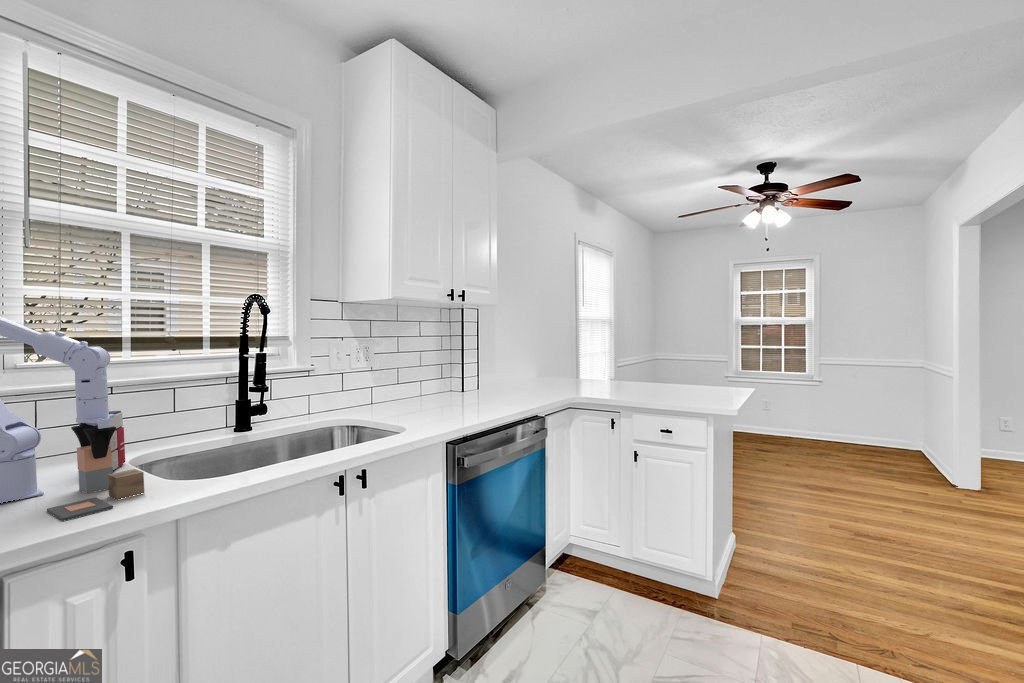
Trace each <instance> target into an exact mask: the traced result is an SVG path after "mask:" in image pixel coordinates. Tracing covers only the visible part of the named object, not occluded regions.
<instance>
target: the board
mask: <svg viewBox="0 0 1024 683" xmlns="http://www.w3.org/2000/svg"><path fill="white" fill-rule="evenodd" d="M112 508H113V509H114V505H113V504H111V503H109V502H106V501H104V500H103V499H100V498H98V497H97V496H95V497H91V498H87V499H82V500H78V501H74V502H70V503H65V504H61V505H57V506H52V507H48V508H46V512H47V513H48V512H49V513H48V514H50V515H51V514H52V515H51V516H53V515H54V516H53V517H55V518H56V517H57V520H59V521H61V520H62V521H61V522H65V521H64V520H66V521H69V520H68V519H70V520H73V519H72V518H74V519H77V518H76V517H78V518H80V517H79V516H81V517H84V516H83V515H85V516H88V515H87V514H89V515H92V514H91V513H93V514H96V513H95V512H97V513H100V512H99V511H101V512H103V510H105V511H108V510H107V509H109V510H112Z"/></svg>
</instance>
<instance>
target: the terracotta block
mask: <svg viewBox="0 0 1024 683" xmlns="http://www.w3.org/2000/svg"><path fill="white" fill-rule="evenodd" d="M76 457H77V458H76V459H77V460H76V461H77V462H76V463H77V470H78V469H79V470H81V471H83V472H89V471H94V470H99V469H104V468H109V467H112V455H111V446H110V445H109V448H108V452H107V456H106V457H104V458H99V459H94V457H93V454H92V450H91V446H85V447H81V446H79V447H76Z"/></svg>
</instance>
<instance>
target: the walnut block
mask: <svg viewBox="0 0 1024 683" xmlns="http://www.w3.org/2000/svg"><path fill="white" fill-rule="evenodd" d="M144 475H145V474H144V471H142V470H138V469H136V468H133V469H128V470H124V471H123V470H122V471H119V472H113V474H108V486H109V489H108V496H110V498H111V497H112V498H111V499H114V498H115V499H114V500H116V499H117V500H116V501H119V500H118V499H121V498H125V497H129V496H133V495H137V494H141V493H144V494H145V478H144ZM141 495H142V494H141ZM137 496H138V495H137ZM133 497H134V496H133ZM129 498H130V497H129ZM125 499H126V498H125ZM121 500H122V499H121Z"/></svg>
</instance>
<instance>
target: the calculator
mask: <svg viewBox="0 0 1024 683" xmlns="http://www.w3.org/2000/svg"><path fill="white" fill-rule="evenodd" d="M108 412H109V414H114V415H115V417H114V418H110V427H112V426H115V427H116V430H115V432H114V433H113V435H112V437H111V440H110V443H109V445H110V446H111V455H112V467H113V470H114V471H115V470H117V469H119V467H121V466H123V464H125V463H126V451H125V450H126V448H125V429H124V428H125V427H124V424H123V421H124V420H123V412H122V411H121V410H112V411H109V410H108Z"/></svg>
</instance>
